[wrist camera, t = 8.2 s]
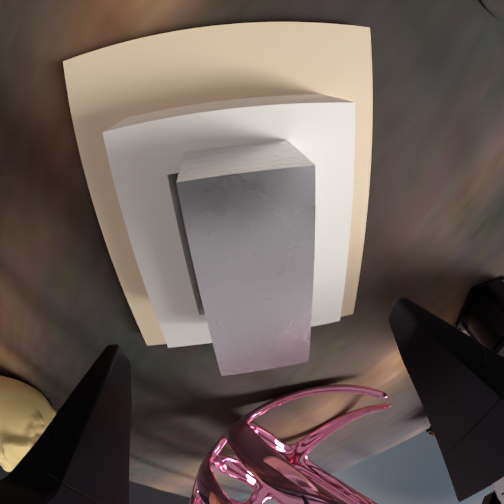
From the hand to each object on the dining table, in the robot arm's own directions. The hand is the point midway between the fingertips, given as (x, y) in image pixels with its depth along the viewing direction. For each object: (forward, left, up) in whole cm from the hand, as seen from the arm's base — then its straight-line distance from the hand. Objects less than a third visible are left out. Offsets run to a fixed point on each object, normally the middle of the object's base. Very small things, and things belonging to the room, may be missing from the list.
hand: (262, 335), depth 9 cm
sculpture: (-19, +28, -11) cm, 36 cm away
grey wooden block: (0, 0, -9) cm, 9 cm away
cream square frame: (0, 0, -11) cm, 11 cm away
